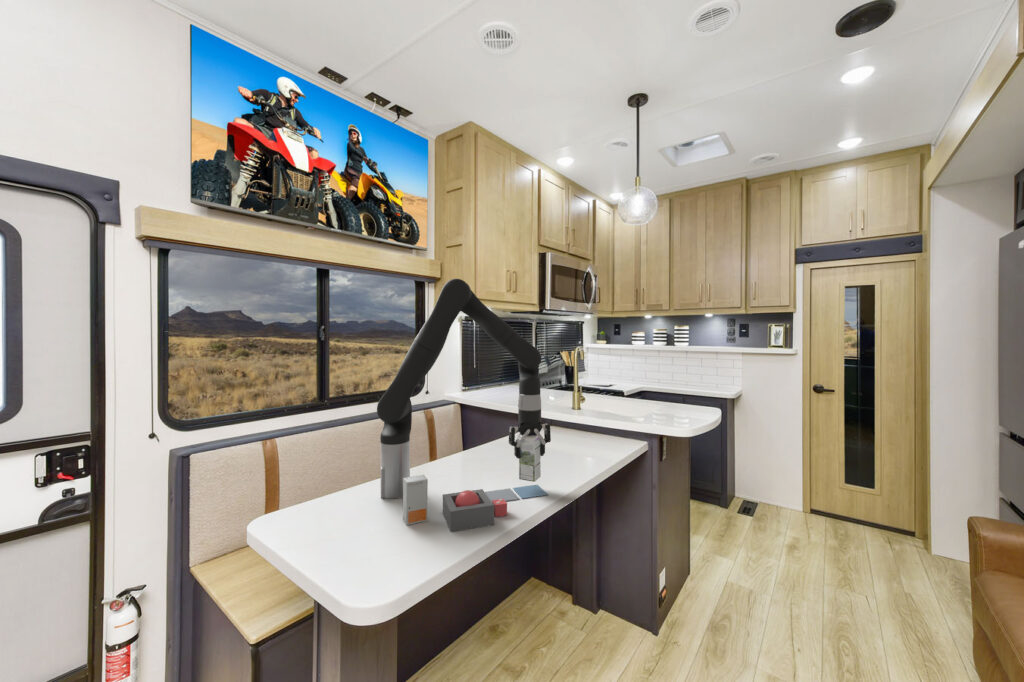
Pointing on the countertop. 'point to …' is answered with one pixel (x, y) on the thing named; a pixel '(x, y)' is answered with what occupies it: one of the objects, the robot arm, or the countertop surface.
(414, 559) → the countertop surface
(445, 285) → the robot arm
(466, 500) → the red ball
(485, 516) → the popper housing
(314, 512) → the countertop surface
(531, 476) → the syrup box
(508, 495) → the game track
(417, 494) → the skincare box
